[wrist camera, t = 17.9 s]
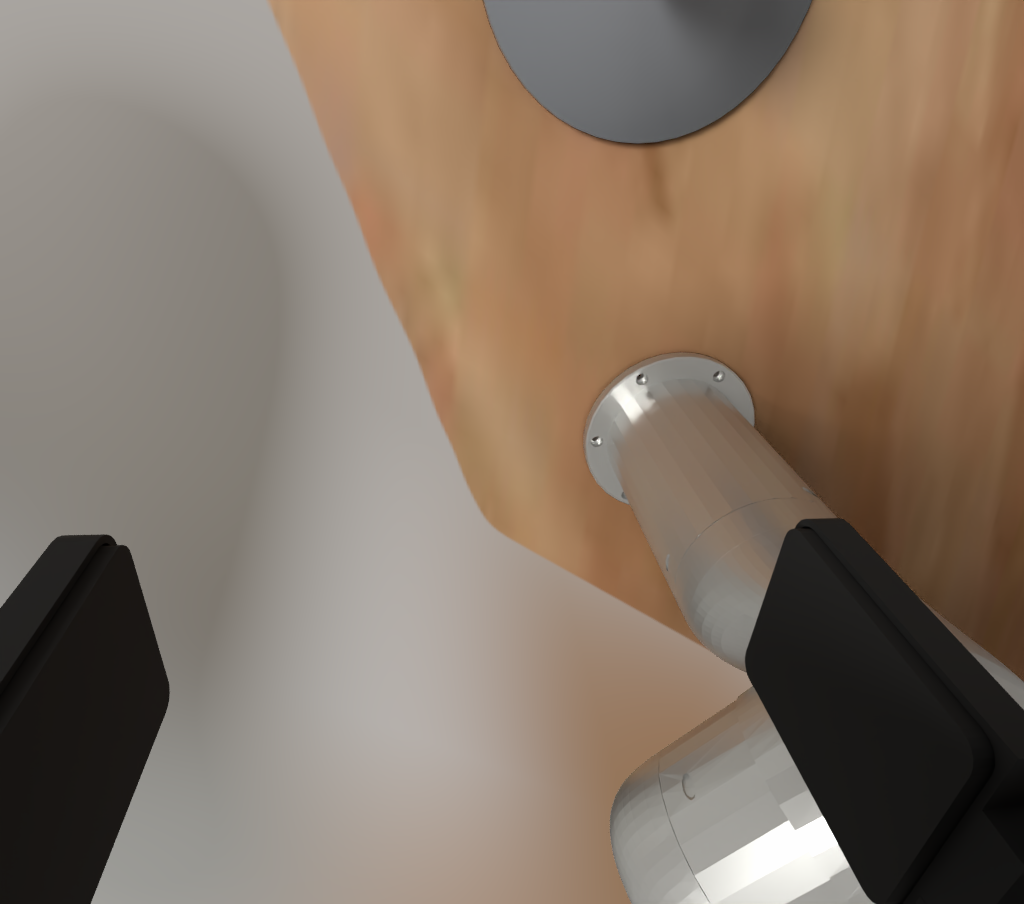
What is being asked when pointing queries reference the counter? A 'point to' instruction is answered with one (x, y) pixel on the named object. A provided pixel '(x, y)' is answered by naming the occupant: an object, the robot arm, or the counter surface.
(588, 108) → the plate
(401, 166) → the counter surface
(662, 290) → the counter surface
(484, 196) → the counter surface
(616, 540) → the counter surface
